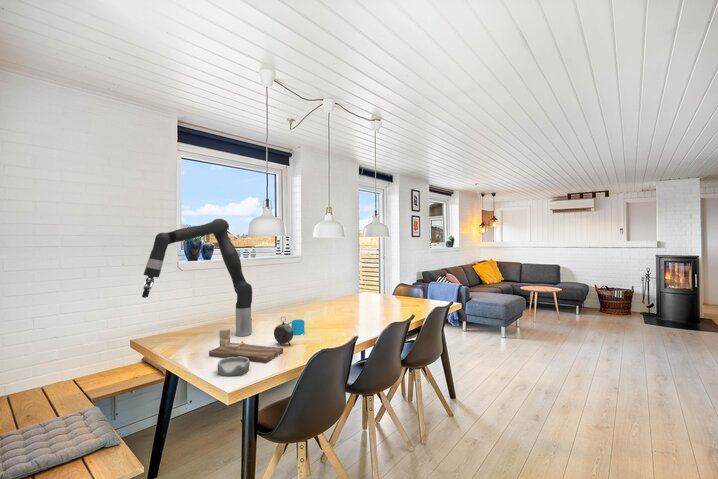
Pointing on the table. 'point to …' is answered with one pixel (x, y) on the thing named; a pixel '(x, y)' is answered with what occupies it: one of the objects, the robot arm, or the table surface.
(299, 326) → the mug
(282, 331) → the alarm clock
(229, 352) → the walnut board
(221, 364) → the dish
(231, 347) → the marking gauge
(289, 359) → the table surface
